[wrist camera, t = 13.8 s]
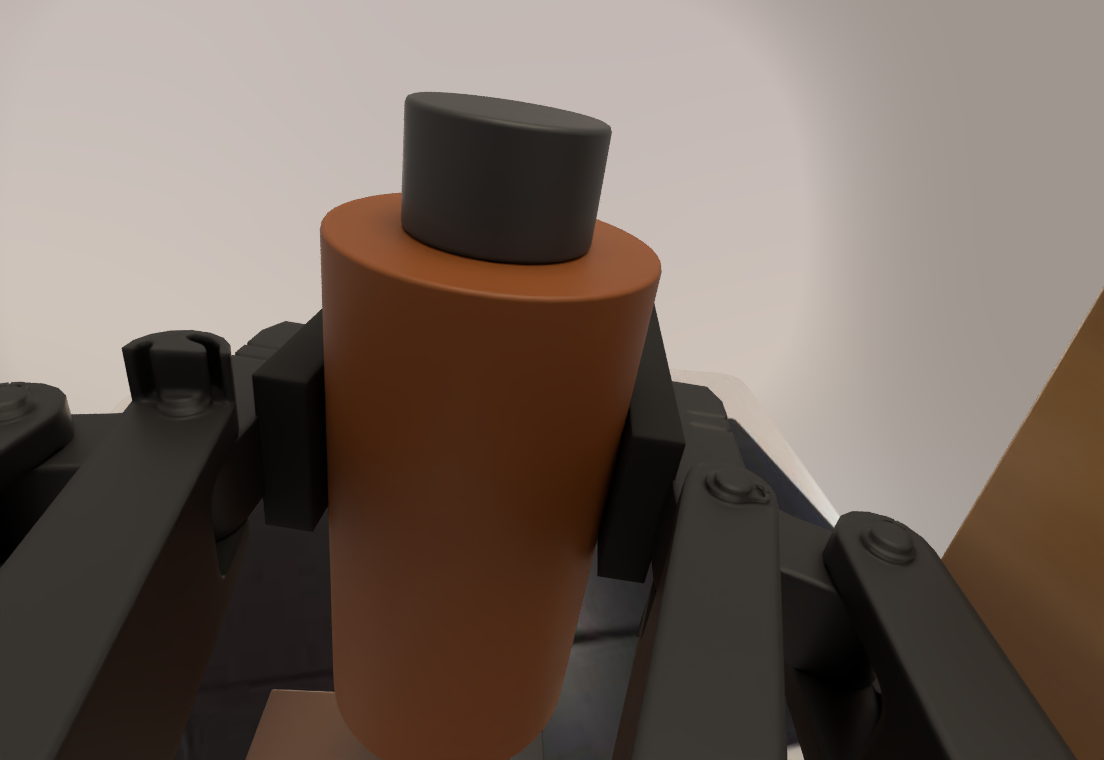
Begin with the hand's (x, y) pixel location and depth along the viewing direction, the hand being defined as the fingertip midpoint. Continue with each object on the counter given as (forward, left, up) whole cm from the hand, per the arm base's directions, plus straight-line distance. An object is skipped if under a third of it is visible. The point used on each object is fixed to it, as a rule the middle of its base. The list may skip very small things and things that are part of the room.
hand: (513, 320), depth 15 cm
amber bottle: (-1, +5, -5) cm, 8 cm away
